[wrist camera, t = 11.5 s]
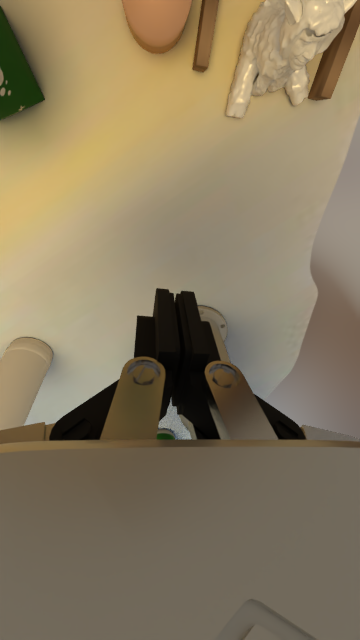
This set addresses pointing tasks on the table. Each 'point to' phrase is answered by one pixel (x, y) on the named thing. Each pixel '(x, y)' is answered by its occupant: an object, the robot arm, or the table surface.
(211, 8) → the display bay
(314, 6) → the white creature statuette
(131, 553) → the robot arm
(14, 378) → the bottle
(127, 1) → the tan rounded cylinder
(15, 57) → the milk carton
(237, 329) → the table surface
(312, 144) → the table surface
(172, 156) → the table surface
